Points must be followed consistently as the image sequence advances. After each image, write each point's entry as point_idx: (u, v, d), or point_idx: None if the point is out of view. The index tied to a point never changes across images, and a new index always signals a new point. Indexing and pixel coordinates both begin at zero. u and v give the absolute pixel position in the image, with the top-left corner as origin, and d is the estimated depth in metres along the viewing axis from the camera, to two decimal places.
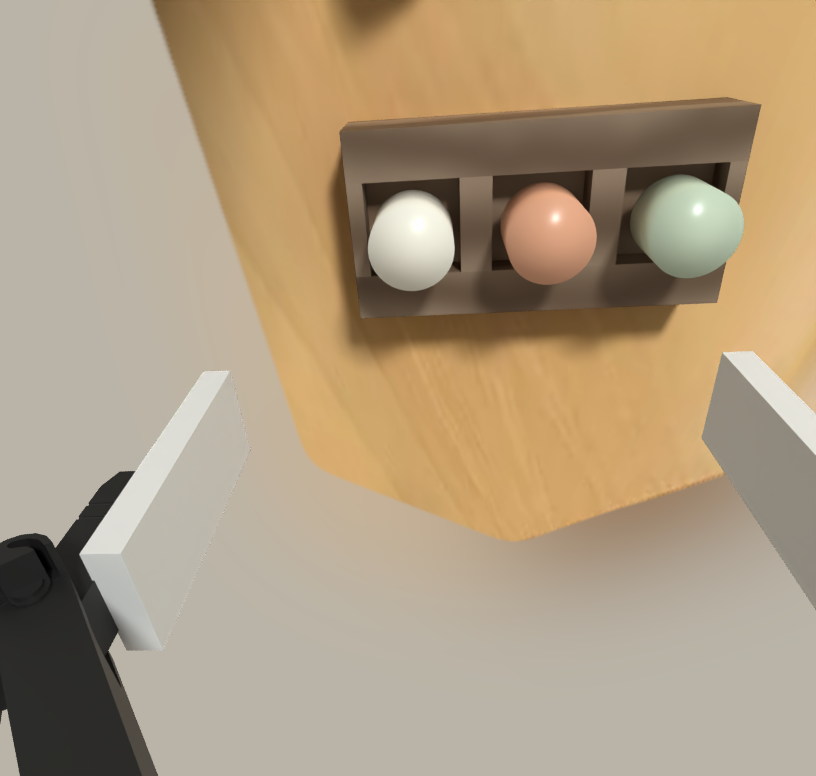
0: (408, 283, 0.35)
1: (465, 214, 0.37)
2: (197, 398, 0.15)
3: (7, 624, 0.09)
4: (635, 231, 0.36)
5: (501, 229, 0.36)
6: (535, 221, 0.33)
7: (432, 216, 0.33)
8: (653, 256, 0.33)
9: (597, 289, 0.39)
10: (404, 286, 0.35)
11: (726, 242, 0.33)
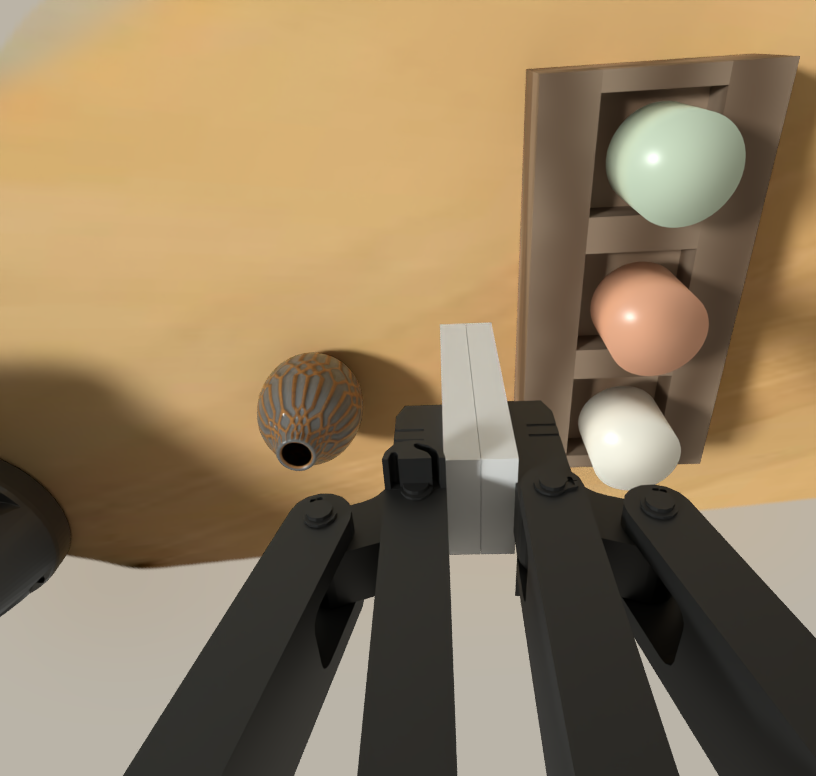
0: (670, 460, 0.34)
1: (610, 372, 0.36)
2: (452, 345, 0.16)
3: (394, 507, 0.11)
4: None
5: None
6: (630, 351, 0.31)
7: (606, 440, 0.34)
8: (701, 219, 0.27)
9: (732, 227, 0.31)
10: (673, 463, 0.34)
11: (704, 129, 0.25)
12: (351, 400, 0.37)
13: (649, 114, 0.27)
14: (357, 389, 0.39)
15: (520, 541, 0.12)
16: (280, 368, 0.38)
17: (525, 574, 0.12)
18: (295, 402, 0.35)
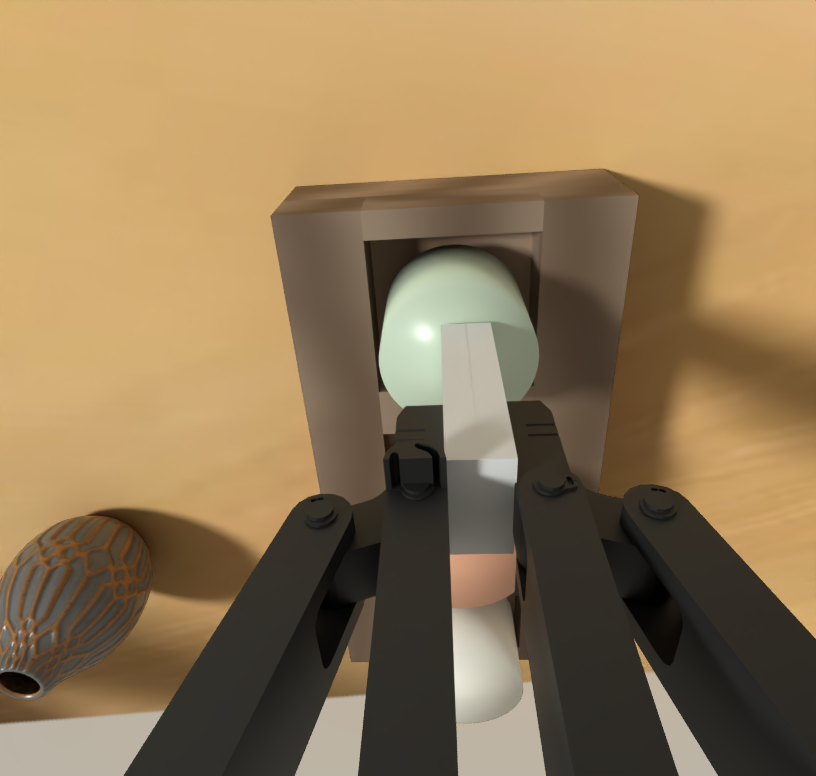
0: (511, 694, 0.26)
1: None
2: (453, 345, 0.16)
3: (395, 506, 0.11)
4: None
5: None
6: None
7: None
8: None
9: (576, 405, 0.23)
10: (515, 697, 0.26)
11: (472, 310, 0.17)
12: (114, 592, 0.29)
13: (416, 273, 0.19)
14: (132, 570, 0.30)
15: (519, 541, 0.12)
16: (26, 548, 0.29)
17: (524, 574, 0.12)
18: (23, 610, 0.27)
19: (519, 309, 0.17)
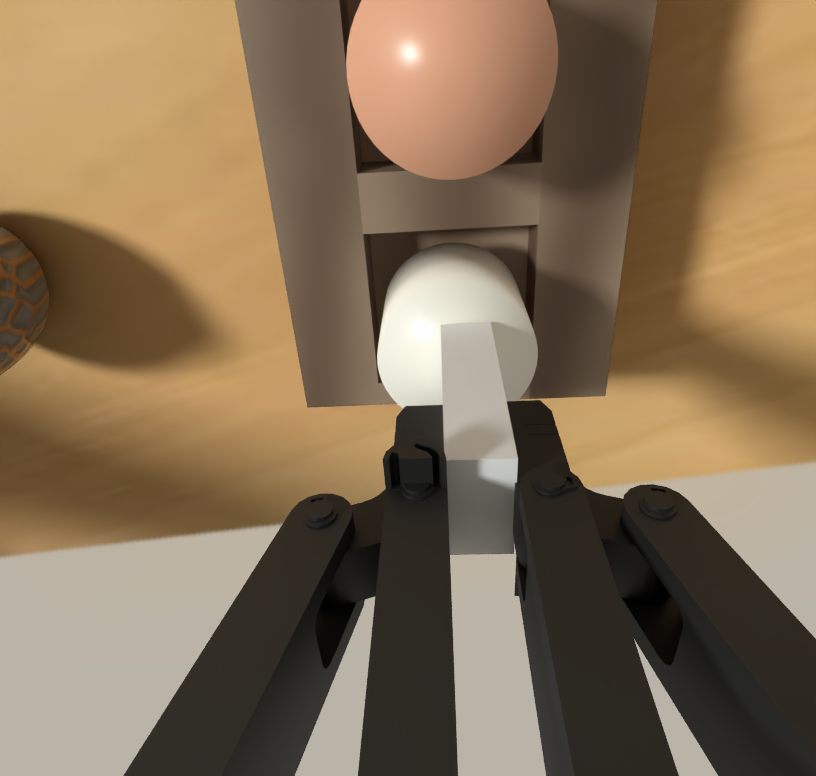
0: (521, 365, 0.18)
1: (427, 220, 0.20)
2: (453, 345, 0.16)
3: (394, 506, 0.11)
4: None
5: None
6: (400, 118, 0.14)
7: (394, 324, 0.18)
8: None
9: None
10: (526, 372, 0.18)
11: None
12: None
13: None
14: (8, 266, 0.22)
15: (519, 541, 0.12)
16: None
17: (524, 574, 0.12)
18: None
19: None
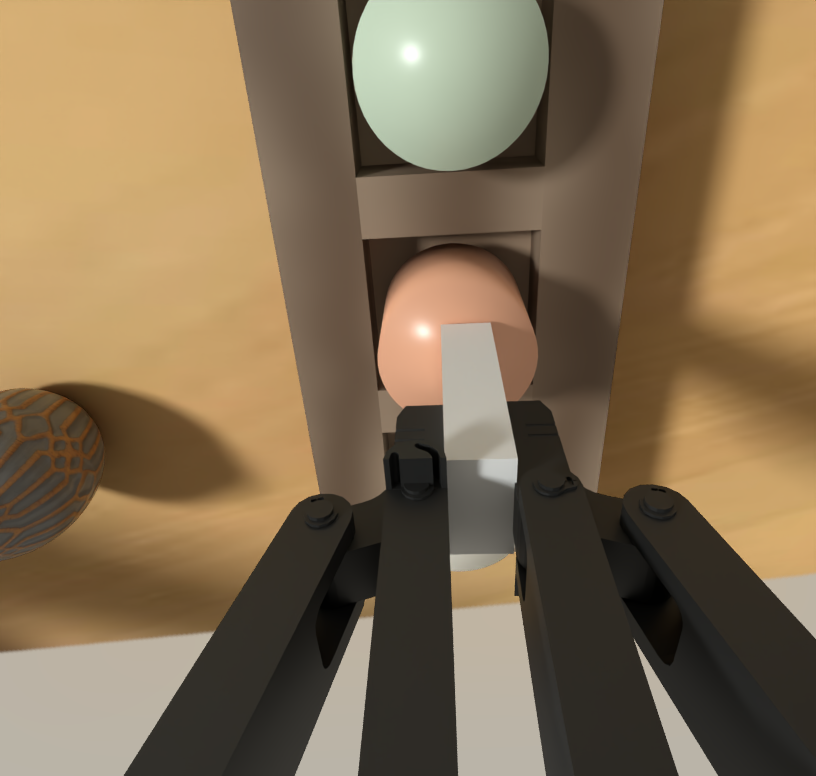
0: None
1: None
2: (453, 345, 0.16)
3: (395, 506, 0.11)
4: None
5: None
6: (418, 388, 0.19)
7: None
8: (491, 156, 0.16)
9: (596, 194, 0.19)
10: None
11: None
12: (52, 463, 0.25)
13: None
14: (76, 444, 0.26)
15: (519, 541, 0.12)
16: None
17: (524, 574, 0.12)
18: None
19: None
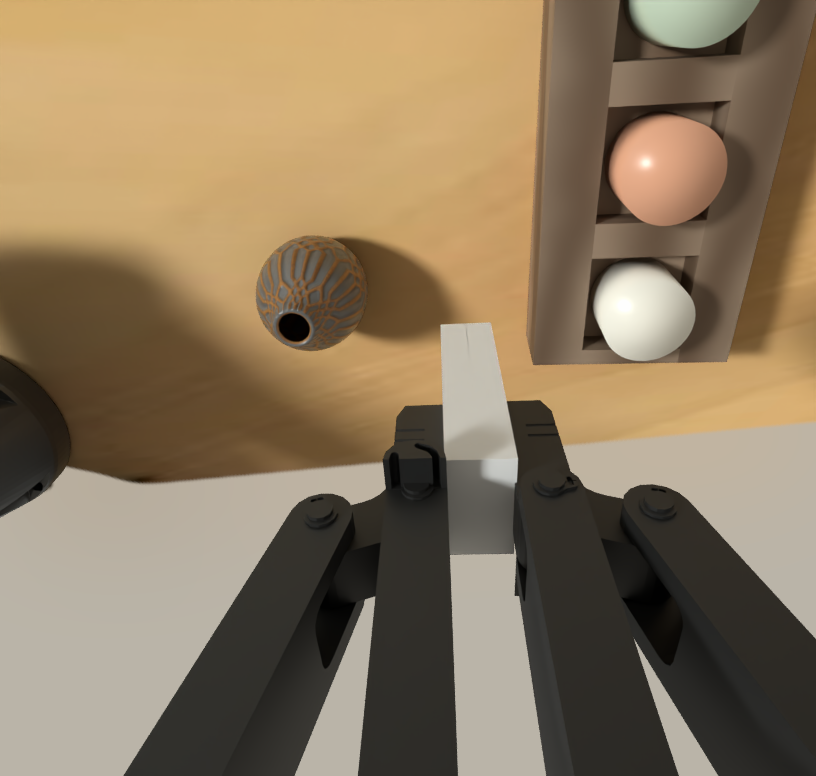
0: (684, 326, 0.33)
1: (632, 251, 0.34)
2: (453, 345, 0.16)
3: (395, 506, 0.11)
4: None
5: None
6: (644, 196, 0.30)
7: (618, 301, 0.33)
8: (722, 38, 0.26)
9: (772, 74, 0.29)
10: (687, 330, 0.33)
11: None
12: (354, 279, 0.35)
13: None
14: (361, 272, 0.37)
15: (519, 541, 0.12)
16: (281, 246, 0.36)
17: (524, 574, 0.12)
18: (295, 274, 0.34)
19: None
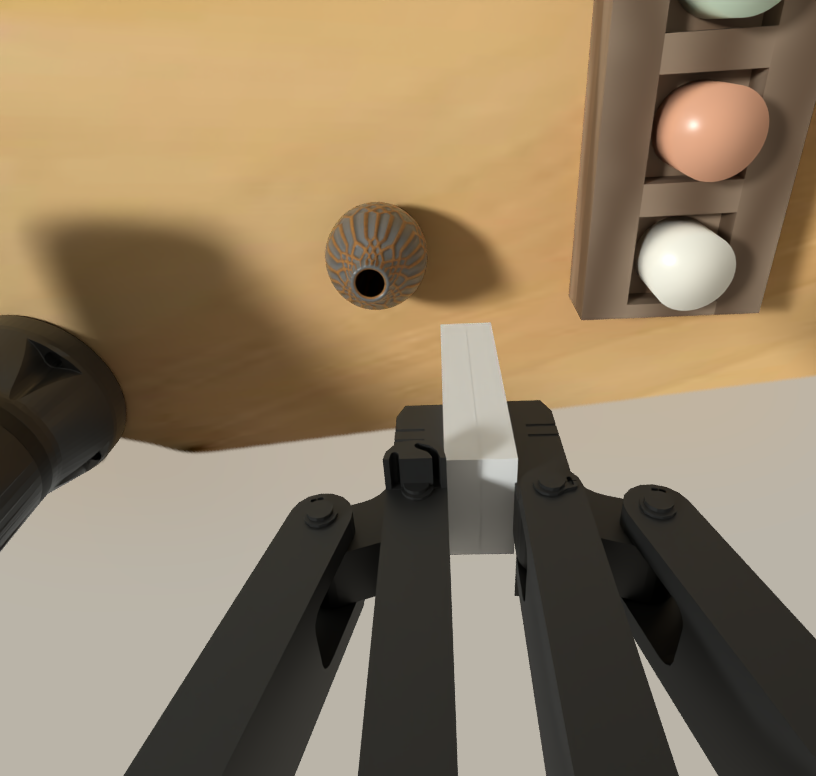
0: (725, 276, 0.36)
1: (676, 209, 0.37)
2: (453, 345, 0.16)
3: (394, 506, 0.11)
4: None
5: None
6: (693, 155, 0.33)
7: (666, 254, 0.36)
8: (768, 8, 0.29)
9: (806, 43, 0.32)
10: (727, 280, 0.37)
11: None
12: (419, 240, 0.38)
13: None
14: (423, 235, 0.39)
15: (519, 541, 0.12)
16: (349, 211, 0.39)
17: (524, 574, 0.12)
18: (368, 235, 0.36)
19: None
